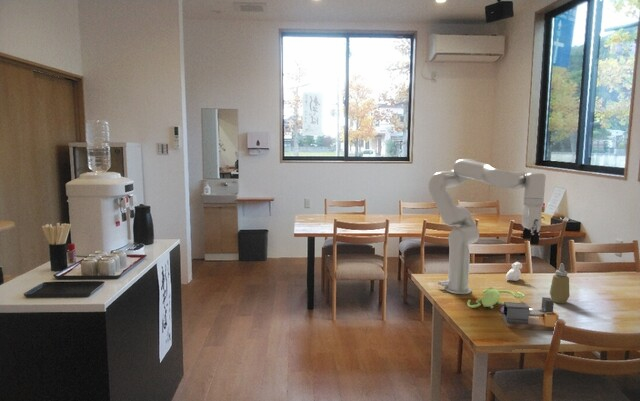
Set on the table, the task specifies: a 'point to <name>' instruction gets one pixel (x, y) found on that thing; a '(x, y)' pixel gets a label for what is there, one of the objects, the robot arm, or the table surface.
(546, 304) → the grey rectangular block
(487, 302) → the figurine
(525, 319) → the grey sleeve
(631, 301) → the table surface
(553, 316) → the orange socket
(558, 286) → the squeeze bottle
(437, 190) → the robot arm
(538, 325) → the walnut board
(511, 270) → the bust
